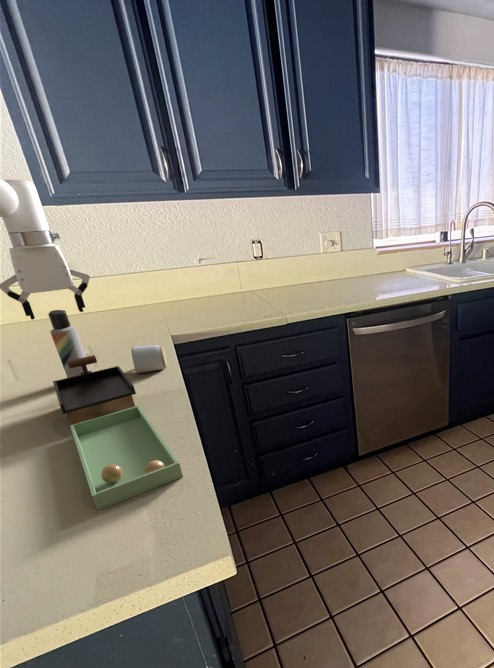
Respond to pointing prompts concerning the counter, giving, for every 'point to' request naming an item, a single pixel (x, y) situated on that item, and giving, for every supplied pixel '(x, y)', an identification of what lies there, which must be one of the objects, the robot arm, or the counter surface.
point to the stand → (100, 410)
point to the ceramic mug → (149, 358)
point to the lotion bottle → (66, 341)
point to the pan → (91, 386)
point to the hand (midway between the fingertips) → (57, 314)
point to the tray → (123, 455)
